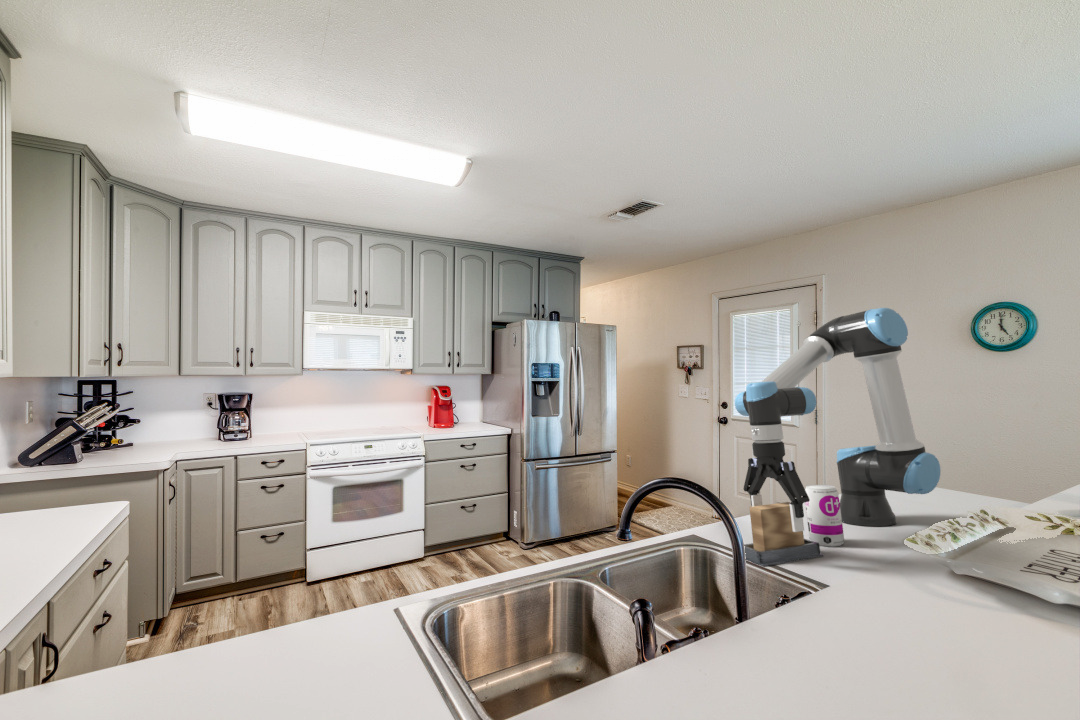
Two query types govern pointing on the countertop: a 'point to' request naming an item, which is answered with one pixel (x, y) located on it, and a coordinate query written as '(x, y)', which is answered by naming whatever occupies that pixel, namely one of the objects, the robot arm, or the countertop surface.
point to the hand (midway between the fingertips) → (777, 525)
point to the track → (783, 553)
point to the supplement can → (824, 515)
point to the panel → (773, 527)
